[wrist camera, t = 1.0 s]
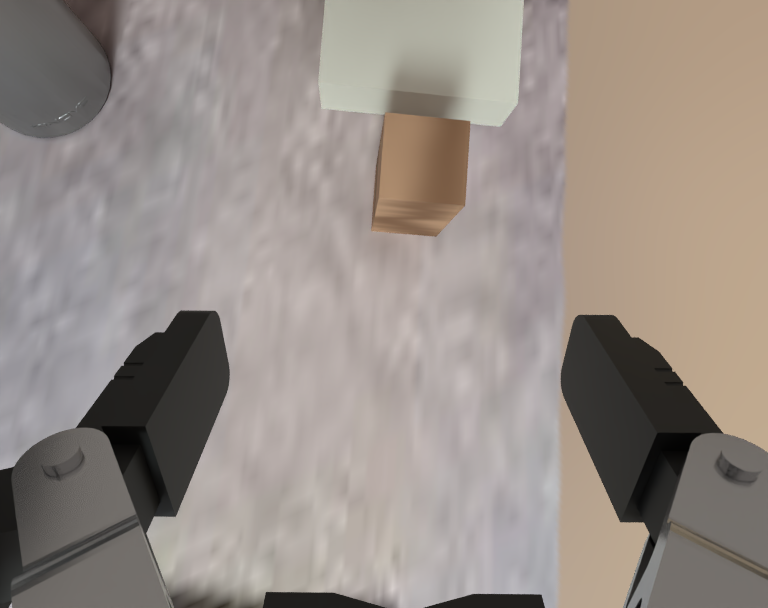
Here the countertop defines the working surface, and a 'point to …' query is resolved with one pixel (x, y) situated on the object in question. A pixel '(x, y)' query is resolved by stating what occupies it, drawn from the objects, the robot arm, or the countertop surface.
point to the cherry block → (420, 174)
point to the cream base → (422, 58)
